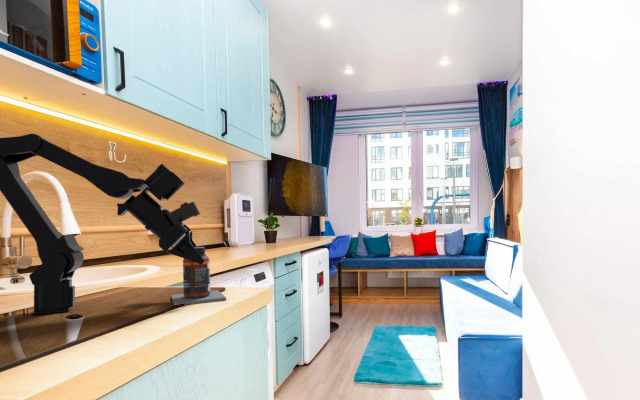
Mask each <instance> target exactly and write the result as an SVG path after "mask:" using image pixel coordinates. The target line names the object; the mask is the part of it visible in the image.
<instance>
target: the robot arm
mask: <svg viewBox="0 0 640 400" xmlns="http://www.w3.org/2000/svg"><path fill="white" fill-rule="evenodd" d="M38 156H39V157H41V158H43V159H44V160H47V161H49V162H51V163H53V164H54V165H56V166H60V167H61V168H63V169H66V170H68V171H69V172H72V173H73V174H76V175H78V176H79V177H81V178H84V179H85V180H86V181H88V182H89V183H91V184H92V185H94V187H96V188H97V189H99V190H100V191H101V192H103V193H104V194H106V195H107V196H109V197H111V198H114V199H118V200H124V199H126V201H124V202H123V203H118V202H117V204H116V206H117V211H116V215H117V216H121V217H123V216H125V214H127V213H129V215H130V214H131V216H132V217H134V219H136V220H137V221H138V222H139V223H140V224H141V225H143V226H144V229H145V230H147V232H148V231H149V232H151V233H152V234H153V235H154V236H155V237H156V238H157V239H158V247H159V248H161V250H162V251H163V252H165V253H167V254H169V255H172V256H176V257H177V258H182V259H187V260H190V261H193V262H196V263H198V264H202V263H203V262H204V259H203V258H202V257H201V255H200V254H199V253H198V251H197V250H196V249H195V248H194V247H198V246H197V245H196V242H194V240H193V230H192V229H191V228H190V227H189V226H188V225H187V224H184V221H186V220H188V219H190V218H193V217H197V216H199V215H200V214H201V212H200V210H199V209H198V207H197V205H196V203H195V201H190V202H189V203H188V202H184V203H181V204H180V205H179V207H178V208H176V209H174V210H172V211H170V210H169V209H167V208H165V207H164V206H162V205H161V204H160V203H159V202H160V201H163V200H166V201H169V200H170V198H172V197H173V196H174V195H175V194H176V193H177V192H178V191H179V190H181V188H182V187H183V186H185V182H184V181H183V180H182V179H181V178H180V177H179V176H178V175H177V174H176V173H174V172H173V171H171V170H170V169H169V168H167V166H165V165H164V164H163V163H161V164H159V165H158V166H157V168H156V169H155V170H154V172H152V173H151V174H150V175H149V176H148V177H147V178H146V179H142V178H140V177H139V178H134V177H130V176H129V175H127V174H125V173H123V172H122V171H118V170H116V169H112V168H108V167H106V166H101V165H97V164H95V163H92V162H90V161H89V160H86V159H84V158H83V157H80V156H78V155H77V154H74V153H72V152H70V151H69V150H66V149H64V148H62V147H60V146H58V145H56V144H54V143H52V142H50V141H48V140H47V139H46V138H44V137H43V136H41V135H39V134H35V133H29V134H23V135H19V136H8V137H0V192H1V194H2V195H3V197H4V198H5V199H6V201H7V202H8V204H9V205H10V207H11V208H12V210H13V211H14V212H15V213H16V215H17V216H18V218H19V220H20V221H21V222H22V224H23V225H24V226H25V228H26V230H27V231H28V233H30V235H31V236H32V238H33V239H34V241H35V244H36V245H35V246H36V249H37V255H38V257H39V259H40V262H41V264H40V265H39V266H38V267H36V268H35V270H33V271H32V272H31V273H30V274H29V275H28V277H29V279H30V282H31V285H33V311H32V312H31V315H32V316H34V315H44V314H54V313H63V312H64V313H65V312H69V311H70V310H71V309H72V308H73V307H74V306H75V305H76V286H75V285H73V279H72V278H73V276H74V274H75V272H76V271H77V270H78V269H79V268H81V267H82V265H83V263H84V253H83V252H82V251H83V250H84V248H83V247H82V246H81V245H80V244H79V243H78V241H77V240H76V239H77V238H76V237H75V236H74V234H62V233H61V232H60V231H59V230H58V229H57V227H56V226H55V225H54V223H53V222H52V220H51V219H50V218H49V216H48V215H47V213H46V212H45V210H44V209H43V208H42V206H41V204H40V203H39V201H38V200H37V199H36V197H35V196H34V194H33V193H32V191H31V190H30V189H29V187H28V186H27V185H26V183H25V181H24V180H23V178H22V177H21V171H20V168H19V164H18V163H20V162H25V161H27V160H29V159H32V158H34V157H38ZM135 193H138V194H137V195H135ZM148 193H150V194H151V195H153V197H155V198H156V199H157V200H159V202H157V201H156V200H155V199H154V198H153V197H152V196H151V195H150V194H148ZM191 230H192V231H191Z"/></svg>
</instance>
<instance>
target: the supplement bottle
mask: <svg viewBox="0 0 640 400" xmlns="http://www.w3.org/2000/svg"><path fill="white" fill-rule="evenodd" d="M194 248H195V249H196V250H197V251H198V253H199V254H200V255H201V257H202V258H203V259H204V262H203V263H202V264H198V263H196V262H193V261H190V260H187V259H184V258H182V276H183V277H182V279H183V284H182V285H183V294H184V296H185V297H187V298H199V297H205V296H208V295H209V294H210V291H211V273H210V272H211V271H210V269H211V268H210V267H211V266H210V256H208V255H207V254H206V248H205V247H204V246H197V247H194Z"/></svg>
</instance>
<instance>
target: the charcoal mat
mask: <svg viewBox="0 0 640 400" xmlns="http://www.w3.org/2000/svg"><path fill="white" fill-rule="evenodd" d="M171 297H172V298H171ZM171 297H170V298H171V301H172V300H173V301H172V303H174V304H173V306H174V305H175V304H184V305H183V306H186V305H194V304H204V303H213V302H221V301H227V297H226V296H225V295H224V294H223V293H222V292H221V291H219V290H210V294H209V295H208V296H205V297H199V298H187V297H185V296H184V293H177V294H171Z"/></svg>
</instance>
